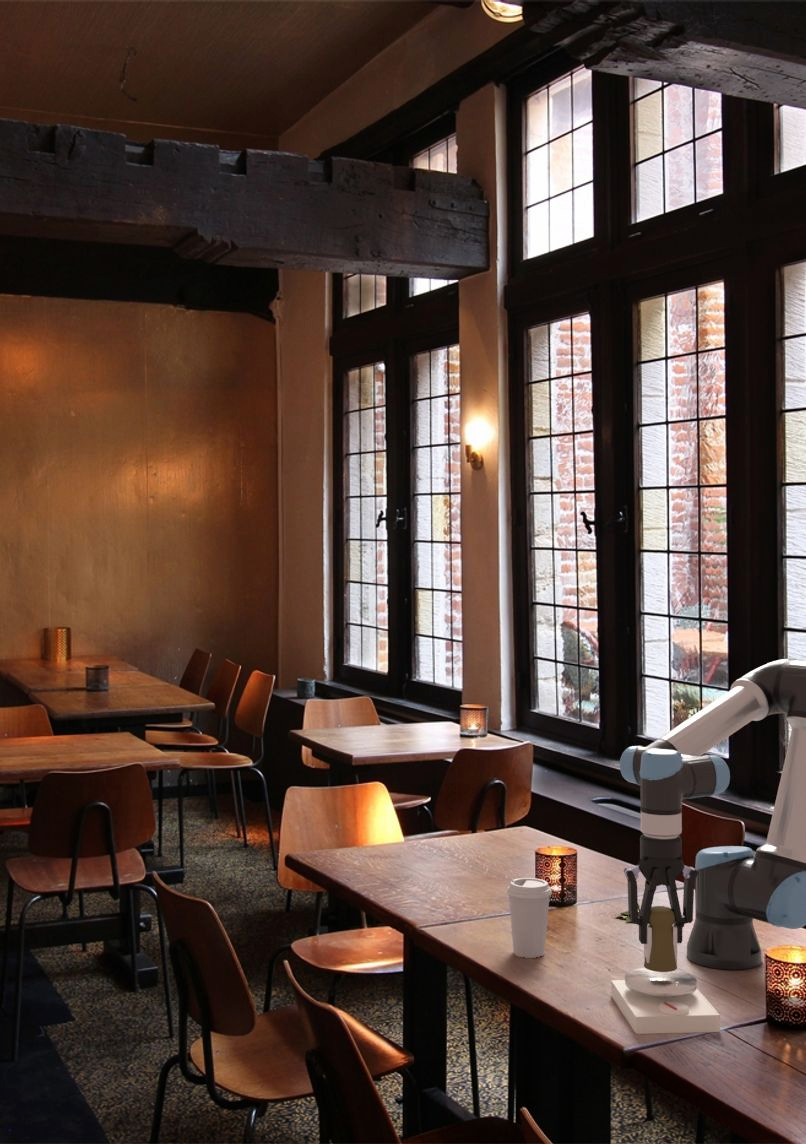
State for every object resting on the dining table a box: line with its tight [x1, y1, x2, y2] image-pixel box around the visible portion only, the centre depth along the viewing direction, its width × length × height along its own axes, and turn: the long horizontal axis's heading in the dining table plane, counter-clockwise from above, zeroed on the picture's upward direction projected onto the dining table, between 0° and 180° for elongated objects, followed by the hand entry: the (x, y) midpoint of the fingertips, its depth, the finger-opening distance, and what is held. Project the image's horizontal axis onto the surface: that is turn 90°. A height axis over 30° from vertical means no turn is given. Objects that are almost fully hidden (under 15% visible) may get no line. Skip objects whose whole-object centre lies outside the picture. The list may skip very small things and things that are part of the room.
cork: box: [643, 905, 678, 972], centre depth 229 cm, size 6×6×11 cm
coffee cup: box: [505, 877, 553, 959], centre depth 262 cm, size 10×10×15 cm
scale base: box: [610, 979, 721, 1035], centre depth 227 cm, size 15×19×4 cm
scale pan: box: [624, 967, 698, 997], centre depth 229 cm, size 13×13×1 cm
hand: (660, 960), depth 229 cm, fingers closed on cork, 4 cm apart
